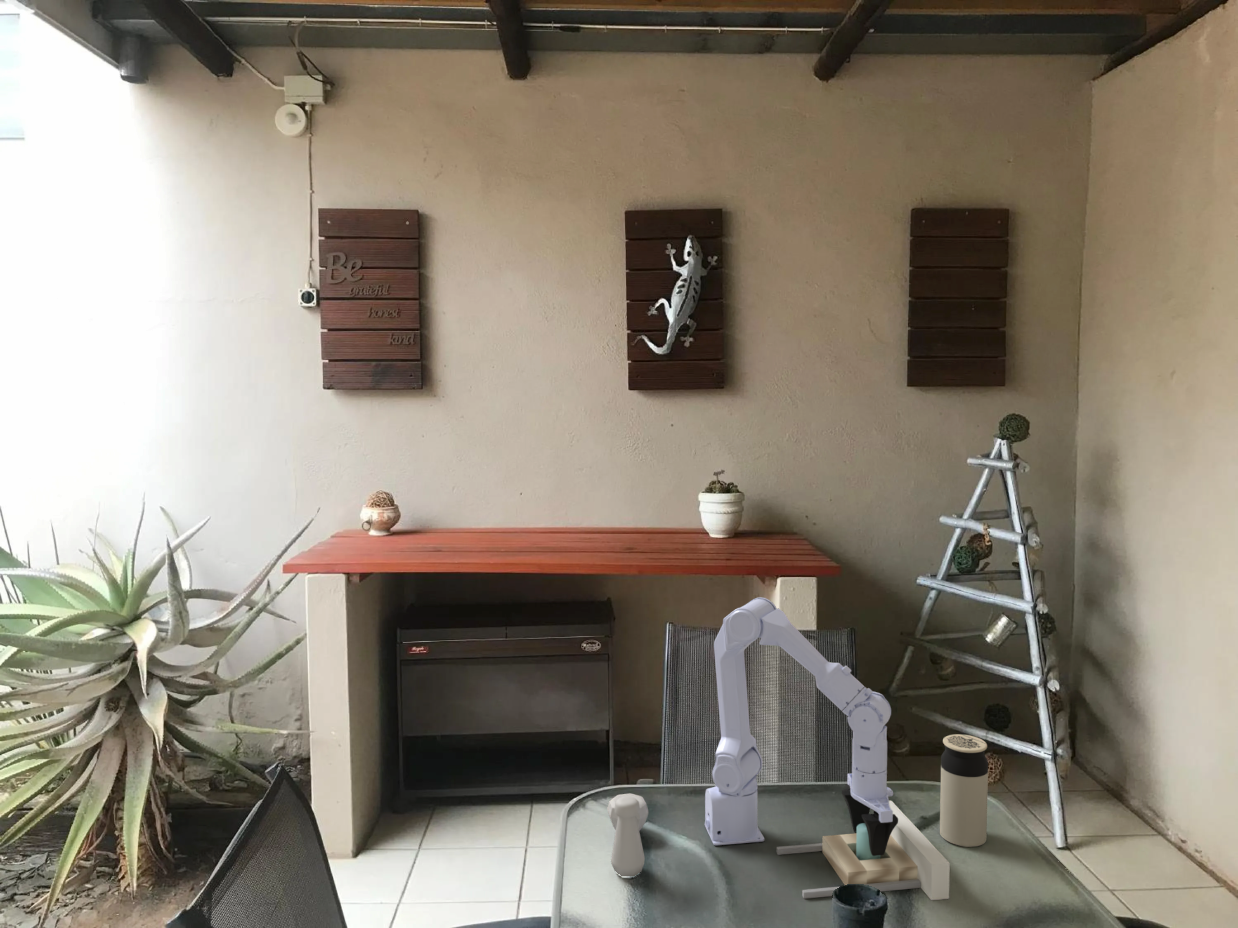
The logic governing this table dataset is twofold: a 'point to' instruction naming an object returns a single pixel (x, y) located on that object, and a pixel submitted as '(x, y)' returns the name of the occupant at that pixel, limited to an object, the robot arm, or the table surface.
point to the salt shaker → (627, 839)
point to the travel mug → (964, 790)
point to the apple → (640, 817)
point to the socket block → (867, 861)
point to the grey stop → (916, 846)
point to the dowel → (863, 844)
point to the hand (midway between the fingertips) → (868, 842)
